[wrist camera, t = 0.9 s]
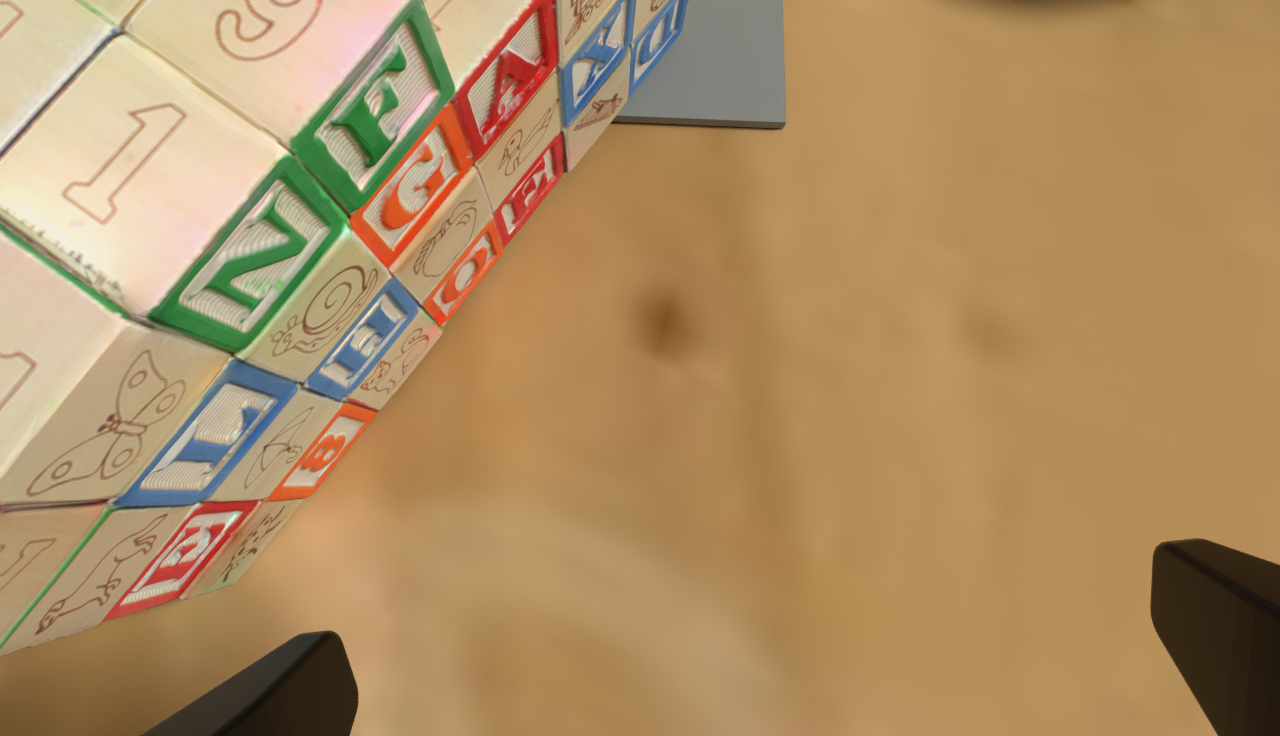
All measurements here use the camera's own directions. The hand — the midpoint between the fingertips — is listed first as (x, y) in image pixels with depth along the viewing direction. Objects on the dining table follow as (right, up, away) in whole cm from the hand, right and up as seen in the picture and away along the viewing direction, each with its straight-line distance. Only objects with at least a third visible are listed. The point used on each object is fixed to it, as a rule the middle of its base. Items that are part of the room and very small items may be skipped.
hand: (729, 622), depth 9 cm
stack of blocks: (-8, +7, +15) cm, 18 cm away
